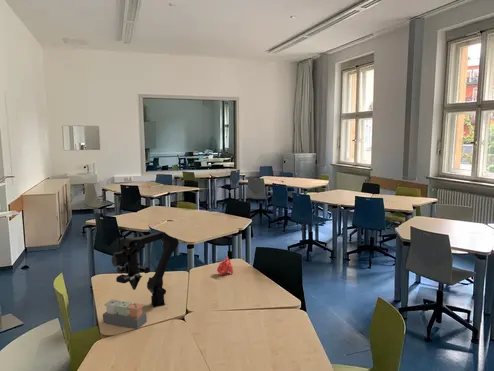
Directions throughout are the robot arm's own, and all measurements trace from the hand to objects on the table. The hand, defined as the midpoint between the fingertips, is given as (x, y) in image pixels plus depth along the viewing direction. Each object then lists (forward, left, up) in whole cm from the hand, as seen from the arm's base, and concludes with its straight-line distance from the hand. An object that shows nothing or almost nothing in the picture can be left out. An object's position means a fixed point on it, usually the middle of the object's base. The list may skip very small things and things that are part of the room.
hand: (134, 289), depth 202 cm
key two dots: (+6, +10, -10) cm, 15 cm away
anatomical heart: (-62, -35, -13) cm, 73 cm away
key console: (+6, +9, -13) cm, 17 cm away
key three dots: (+1, +14, -10) cm, 17 cm away
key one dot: (+11, +5, -10) cm, 16 cm away
